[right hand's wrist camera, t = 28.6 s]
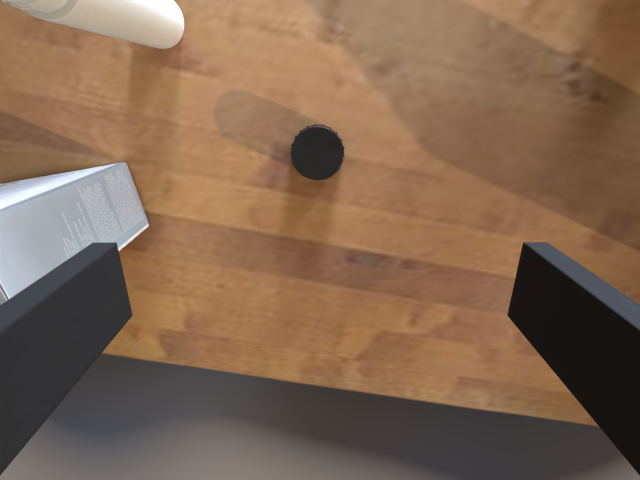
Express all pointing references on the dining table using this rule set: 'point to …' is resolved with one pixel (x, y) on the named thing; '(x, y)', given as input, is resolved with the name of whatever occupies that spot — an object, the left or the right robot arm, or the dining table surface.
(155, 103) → the dining table surface
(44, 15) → the white tube
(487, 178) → the dining table surface
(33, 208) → the hard drive box
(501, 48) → the dining table surface
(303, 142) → the lid
